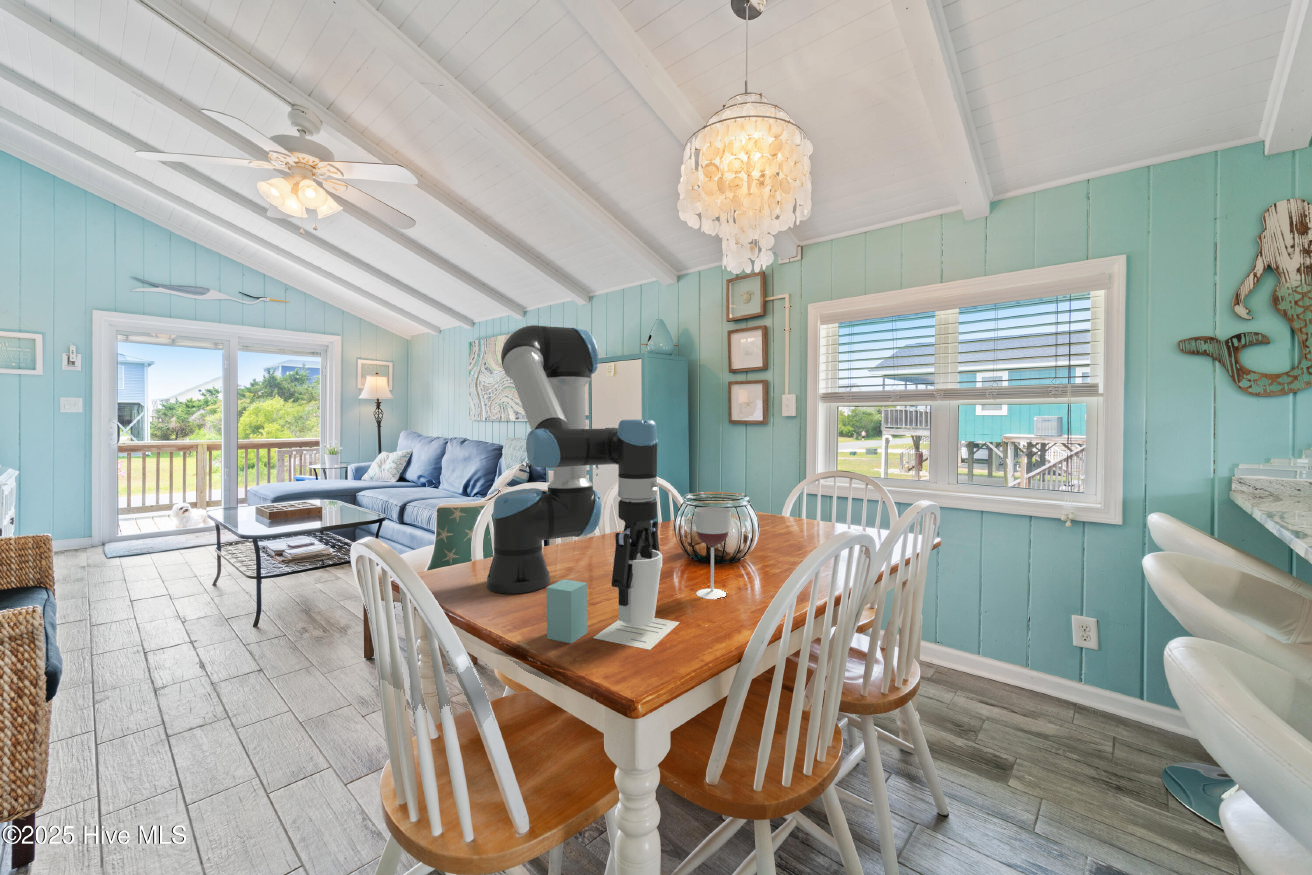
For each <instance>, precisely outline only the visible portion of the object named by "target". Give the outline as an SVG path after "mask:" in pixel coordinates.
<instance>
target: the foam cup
mask: <svg viewBox="0 0 1312 875" xmlns="http://www.w3.org/2000/svg"><path fill="white" fill-rule="evenodd" d="M614 557H615V553H614V554H613V558H614ZM628 564H632V573H633V577H632V582H631V586H630V587H633V622H632V623H628V622H623V621H622V622H623V623H624V624H626V625H630V626H645V625H649V624H651V623H653V621H654V618H656V617H655V616H656V609H657V603H658V602H657V600H658V594H659V585H660V579H661V570H662V567H663V554H662V553H661V552H659V551H655V550H652V558H651V559H647V558H642V557H641V555H640V553H638V554H637V558H636V560H634V561H631V560H629V563H628ZM617 594H618V593H617ZM618 597H619V594H618Z"/></svg>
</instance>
